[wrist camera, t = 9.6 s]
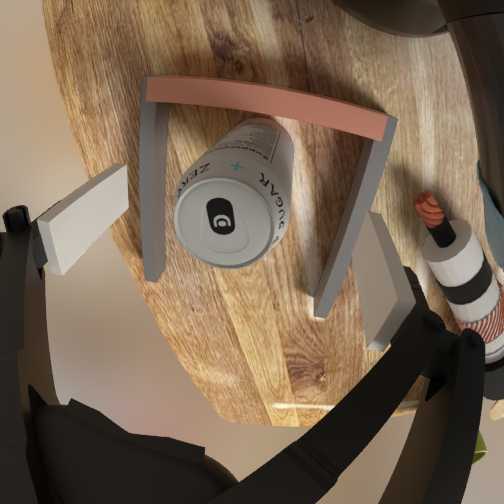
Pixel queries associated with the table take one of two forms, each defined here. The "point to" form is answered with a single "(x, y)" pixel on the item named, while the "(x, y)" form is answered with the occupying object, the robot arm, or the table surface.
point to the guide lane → (267, 102)
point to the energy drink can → (237, 196)
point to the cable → (466, 285)
